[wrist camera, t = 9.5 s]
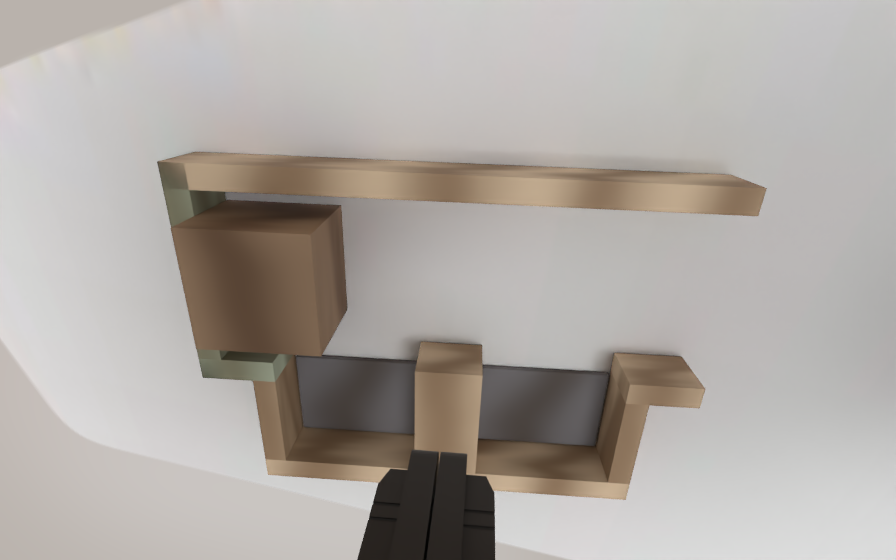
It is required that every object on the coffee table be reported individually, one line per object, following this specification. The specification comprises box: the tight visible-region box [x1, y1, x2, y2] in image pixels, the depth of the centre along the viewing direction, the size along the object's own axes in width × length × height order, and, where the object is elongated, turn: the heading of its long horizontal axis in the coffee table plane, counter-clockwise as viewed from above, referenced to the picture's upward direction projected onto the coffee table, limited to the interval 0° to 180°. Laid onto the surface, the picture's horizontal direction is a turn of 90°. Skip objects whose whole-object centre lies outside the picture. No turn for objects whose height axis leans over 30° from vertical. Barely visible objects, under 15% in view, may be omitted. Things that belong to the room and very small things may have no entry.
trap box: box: [158, 152, 767, 500], centre depth 25 cm, size 26×18×3 cm
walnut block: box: [171, 200, 347, 356], centre depth 23 cm, size 6×6×5 cm
